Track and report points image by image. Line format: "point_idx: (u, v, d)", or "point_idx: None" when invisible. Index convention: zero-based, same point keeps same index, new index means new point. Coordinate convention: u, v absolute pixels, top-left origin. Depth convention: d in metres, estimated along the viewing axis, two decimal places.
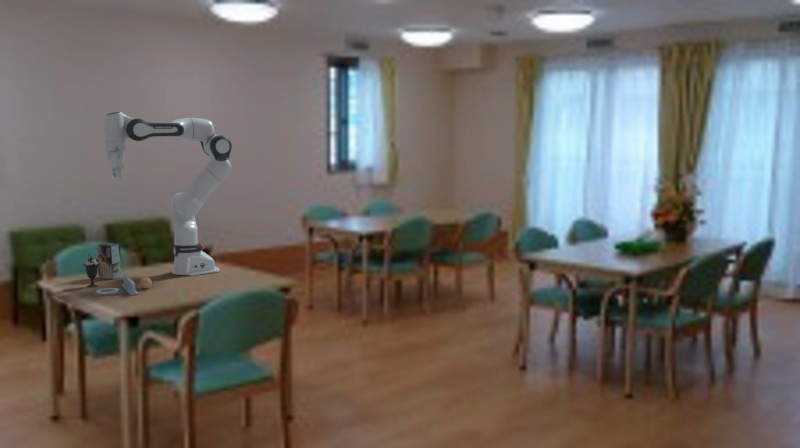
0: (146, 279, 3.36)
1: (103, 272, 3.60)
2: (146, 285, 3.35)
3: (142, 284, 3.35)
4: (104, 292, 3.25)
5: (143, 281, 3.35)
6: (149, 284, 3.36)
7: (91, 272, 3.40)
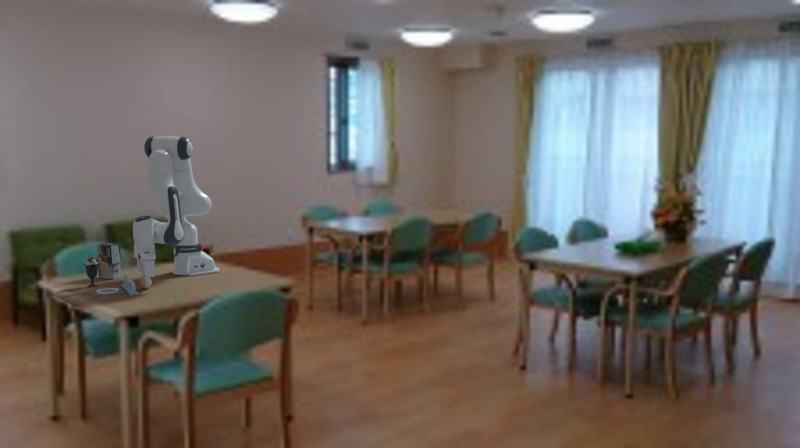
0: None
1: (103, 272, 3.60)
2: (146, 286, 3.35)
3: (142, 284, 3.35)
4: (104, 292, 3.25)
5: (143, 281, 3.35)
6: None
7: (91, 272, 3.40)
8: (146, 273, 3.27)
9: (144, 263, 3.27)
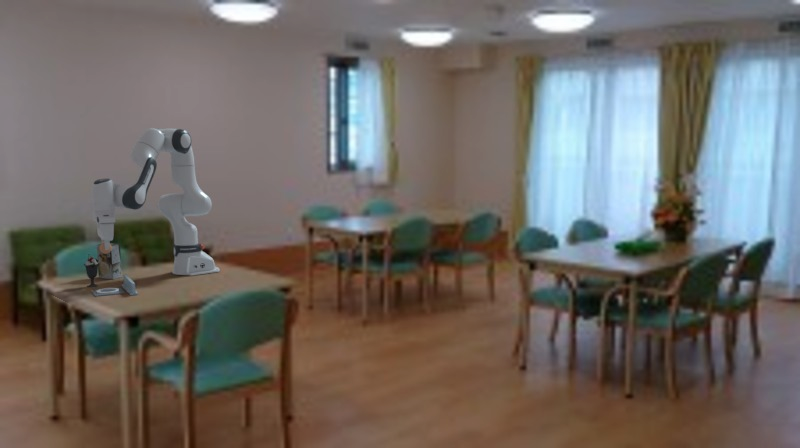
0: None
1: (103, 272, 3.60)
2: (105, 250, 3.25)
3: (101, 249, 3.25)
4: (104, 292, 3.25)
5: (102, 246, 3.25)
6: (109, 249, 3.26)
7: (91, 272, 3.40)
8: (105, 236, 3.17)
9: (103, 226, 3.17)
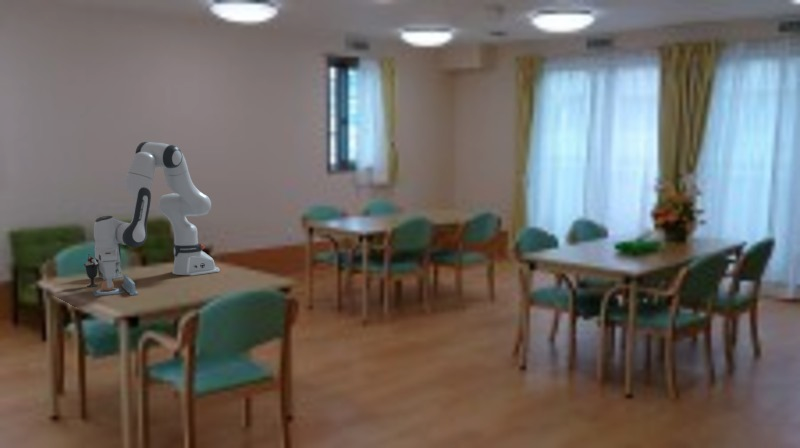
0: None
1: None
2: (107, 288, 3.28)
3: (103, 287, 3.27)
4: (104, 292, 3.25)
5: (104, 284, 3.27)
6: (111, 287, 3.29)
7: (91, 272, 3.40)
8: (107, 274, 3.20)
9: (104, 264, 3.19)
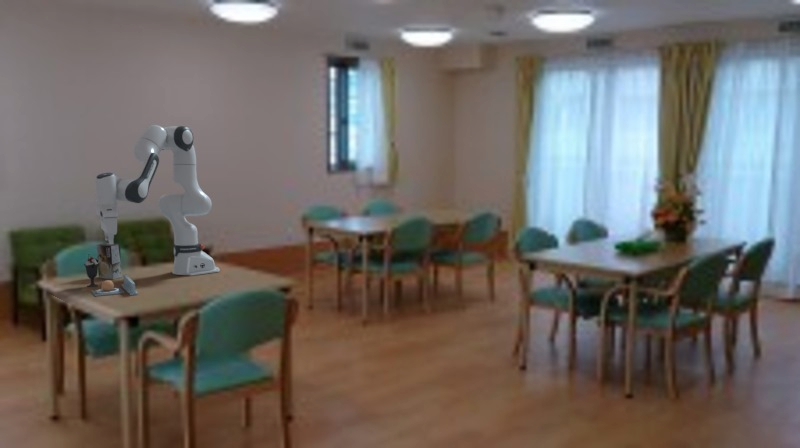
0: (108, 282, 3.28)
1: (103, 272, 3.60)
2: (107, 289, 3.28)
3: (103, 287, 3.27)
4: (104, 292, 3.25)
5: (104, 284, 3.27)
6: (111, 287, 3.28)
7: (91, 272, 3.40)
8: (108, 231, 3.21)
9: (106, 220, 3.21)
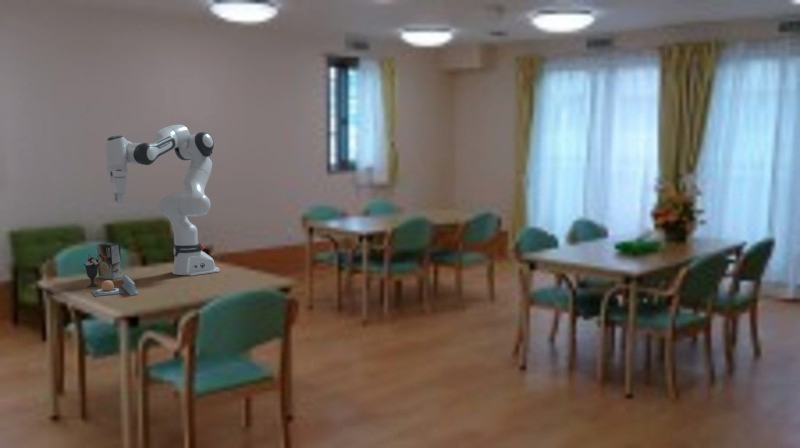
0: (108, 282, 3.28)
1: (103, 272, 3.60)
2: (107, 289, 3.28)
3: (103, 287, 3.27)
4: (104, 292, 3.25)
5: (104, 284, 3.27)
6: (111, 287, 3.28)
7: (91, 272, 3.40)
8: (118, 189, 3.35)
9: (116, 180, 3.35)
